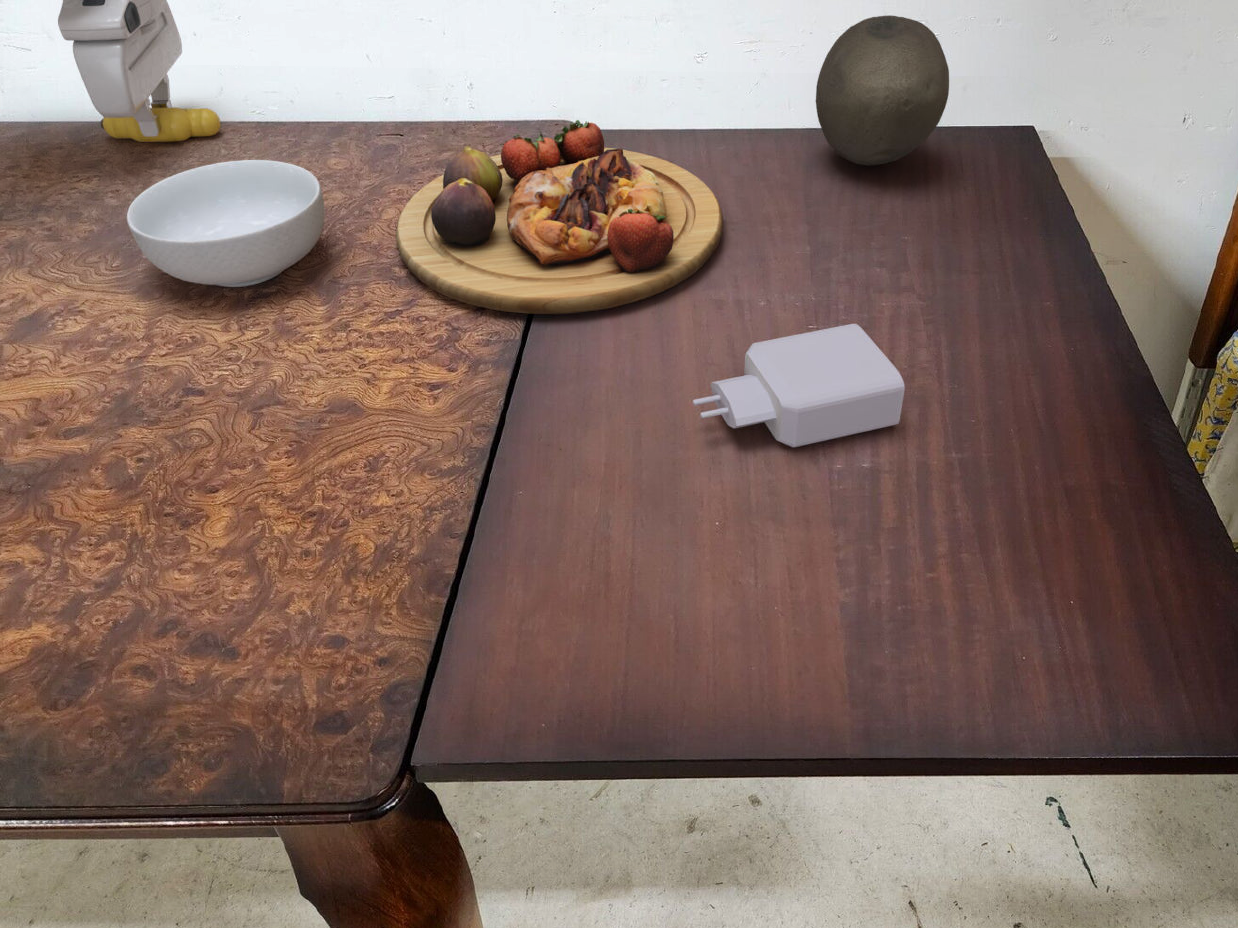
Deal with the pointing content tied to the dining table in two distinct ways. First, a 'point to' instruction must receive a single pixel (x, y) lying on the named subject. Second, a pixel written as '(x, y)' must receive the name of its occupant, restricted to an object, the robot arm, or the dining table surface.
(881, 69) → the kiwi fruit
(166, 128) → the yellow lumpy cylinder
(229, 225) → the cereal bowl
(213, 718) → the dining table surface
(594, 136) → the wooden plate
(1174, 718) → the dining table surface
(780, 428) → the charger
